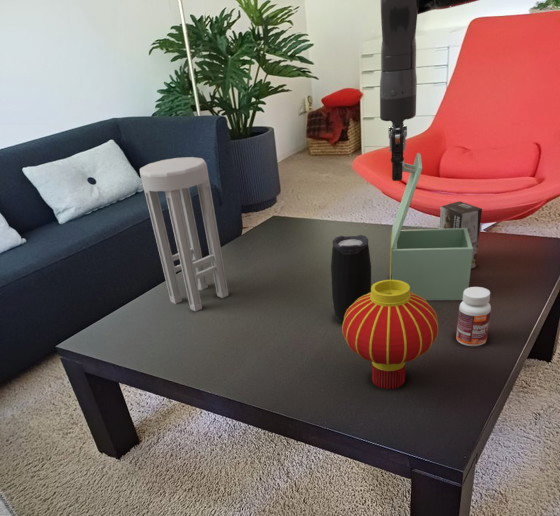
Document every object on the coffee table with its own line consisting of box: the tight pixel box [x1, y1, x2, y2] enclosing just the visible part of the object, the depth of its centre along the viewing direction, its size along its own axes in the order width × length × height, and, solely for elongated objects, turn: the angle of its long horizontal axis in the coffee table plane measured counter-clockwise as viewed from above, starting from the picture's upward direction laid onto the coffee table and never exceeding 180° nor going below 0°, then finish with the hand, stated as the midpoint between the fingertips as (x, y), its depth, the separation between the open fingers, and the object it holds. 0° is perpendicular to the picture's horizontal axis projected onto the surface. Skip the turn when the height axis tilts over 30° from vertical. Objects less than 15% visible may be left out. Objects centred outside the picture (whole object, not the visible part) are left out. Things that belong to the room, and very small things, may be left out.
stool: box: [139, 156, 230, 312], centre depth 132 cm, size 16×16×35 cm
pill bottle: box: [455, 286, 492, 347], centre depth 109 cm, size 6×6×11 cm
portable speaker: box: [330, 234, 372, 325], centre depth 119 cm, size 9×9×20 cm
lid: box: [390, 152, 423, 250], centre depth 122 cm, size 19×14×5 cm
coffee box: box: [438, 200, 483, 269], centre depth 139 cm, size 9×6×16 cm
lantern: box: [341, 231, 439, 390], centre depth 94 cm, size 17×17×30 cm
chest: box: [391, 228, 473, 301], centre depth 130 cm, size 18×14×13 cm
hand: (397, 176), depth 119 cm, fingers closed on lid, 5 cm apart
